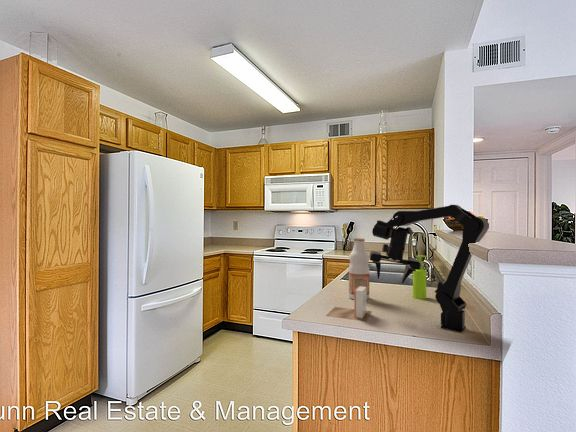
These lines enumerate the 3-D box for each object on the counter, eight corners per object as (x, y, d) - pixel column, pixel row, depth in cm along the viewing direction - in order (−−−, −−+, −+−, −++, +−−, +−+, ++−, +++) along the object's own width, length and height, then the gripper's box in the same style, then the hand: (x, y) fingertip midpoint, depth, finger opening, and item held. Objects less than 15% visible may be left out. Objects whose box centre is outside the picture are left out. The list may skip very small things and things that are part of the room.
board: (371, 312, 125) (371, 311, 125) (365, 322, 113) (365, 321, 113) (334, 308, 131) (334, 306, 131) (325, 317, 119) (325, 315, 119)
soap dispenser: (430, 299, 146) (430, 256, 146) (415, 299, 146) (415, 256, 146) (425, 296, 152) (425, 254, 152) (411, 296, 152) (411, 254, 152)
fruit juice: (344, 297, 149) (344, 238, 149) (358, 294, 154) (358, 237, 154) (359, 301, 141) (359, 239, 141) (373, 299, 146) (373, 238, 146)
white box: (366, 312, 123) (366, 286, 123) (362, 318, 116) (362, 291, 116) (358, 311, 125) (358, 286, 125) (354, 317, 117) (354, 290, 117)
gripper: (418, 243, 129) (410, 279, 131) (371, 234, 132) (365, 270, 134) (424, 249, 118) (416, 288, 120) (374, 239, 121) (366, 278, 123)
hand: (390, 280), depth 124 cm, fingers open, 9 cm apart
